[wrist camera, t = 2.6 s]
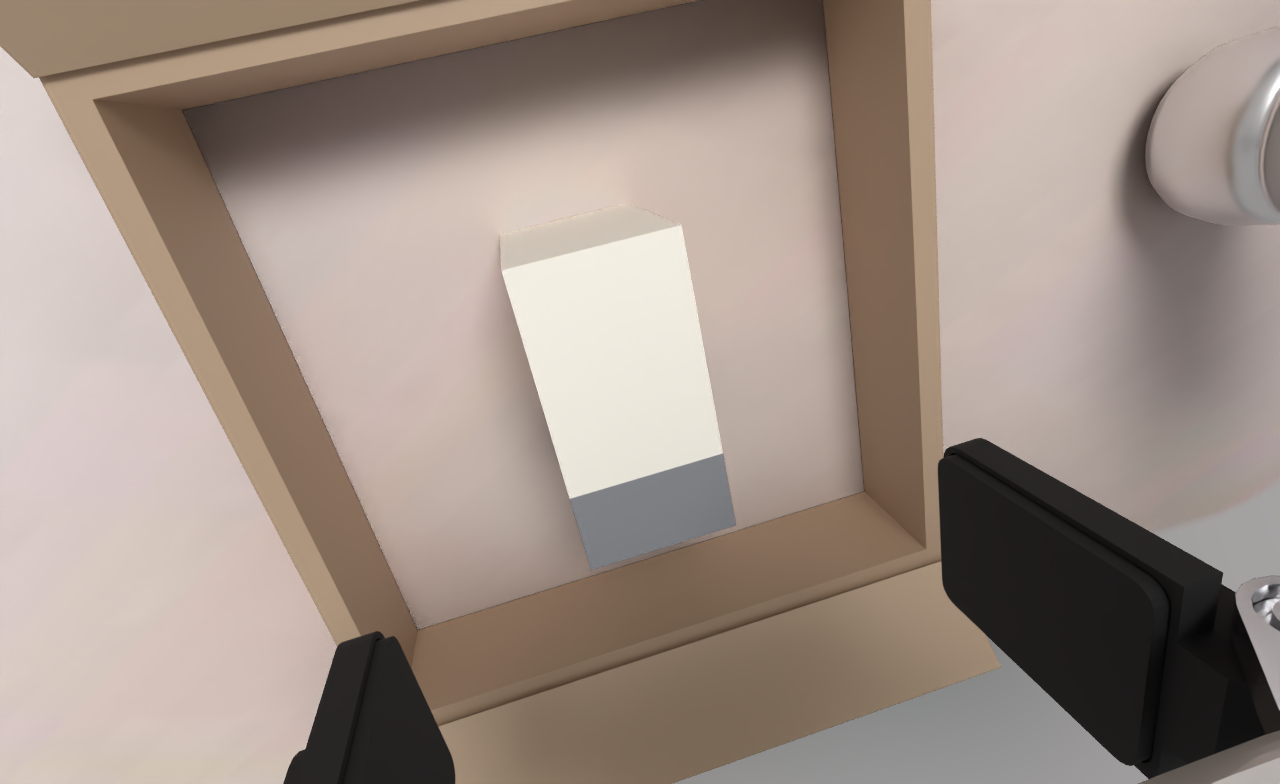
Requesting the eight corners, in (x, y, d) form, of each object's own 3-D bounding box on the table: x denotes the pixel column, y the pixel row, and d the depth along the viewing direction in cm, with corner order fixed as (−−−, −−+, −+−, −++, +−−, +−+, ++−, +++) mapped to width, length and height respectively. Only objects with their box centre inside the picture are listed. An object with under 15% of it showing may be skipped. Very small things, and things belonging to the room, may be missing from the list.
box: (627, 202, 22) (681, 225, 16) (676, 430, 26) (735, 525, 19) (499, 234, 22) (501, 270, 15) (566, 462, 25) (590, 570, 19)
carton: (833, -177, 19) (1018, -356, 13) (885, 555, 30) (1001, 675, 23) (80, -39, 17) (-204, -165, 10) (429, 702, 28) (407, 886, 21)
